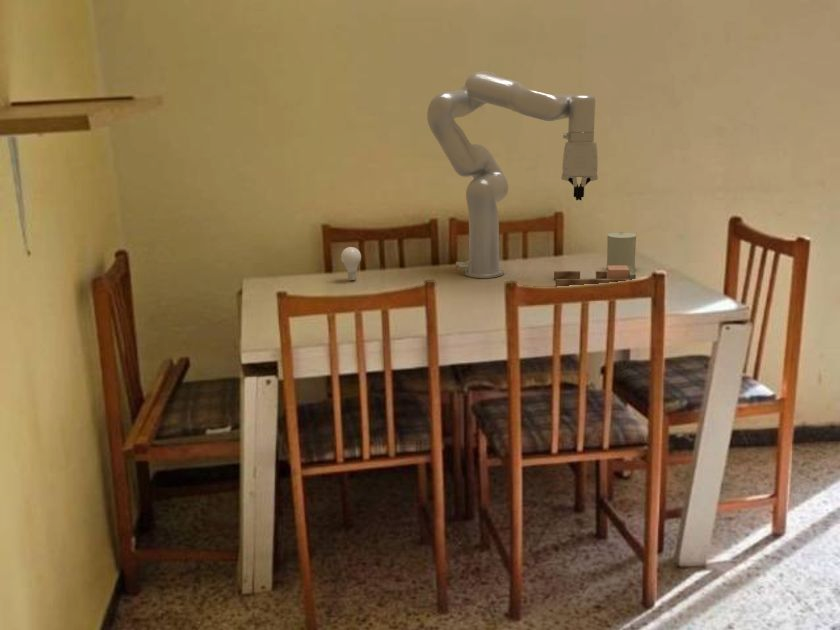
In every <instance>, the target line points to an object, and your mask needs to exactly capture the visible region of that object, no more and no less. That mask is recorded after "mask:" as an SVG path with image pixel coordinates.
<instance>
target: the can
mask: <svg viewBox="0 0 840 630" xmlns="http://www.w3.org/2000/svg"><path fill="white" fill-rule="evenodd" d="M606 239H607V247H606V248H607V251H606V252H607V254H606V255H607V256H606V270H605V271H607V266H618V265H627V266H631V268H632V269H633V271H634V272H636V245H637V244H636V243H637V234H636V233H633V232H626V231H625V232H622V231H621V232H619V231H618V232H617V231H616V232H610V233H608V234H607V238H606Z"/></svg>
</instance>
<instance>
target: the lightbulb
mask: <svg viewBox="0 0 840 630" xmlns="http://www.w3.org/2000/svg"><path fill="white" fill-rule="evenodd" d="M340 259H341V262H342V264H343V265H344V266H345V269H346V271H347V279H348V280H349V281H351V282H354V281H355V280H357V270H358V266H359V264H360V263H361V260H362V254H361V252H360V250H359V249H358V248H357V247H353V246H348V247H346V248H344V249H343V250H342V251H341V255H340Z"/></svg>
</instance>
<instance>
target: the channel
mask: <svg viewBox="0 0 840 630" xmlns="http://www.w3.org/2000/svg"><path fill="white" fill-rule="evenodd" d="M627 267H628V268H629V279H607V270H596V272H595V278H581V271H580V270H554V271H553V280H554V281H555V285H554V286H556V287H557V286H569V285H584V284H599V283H609V282H618V281H626V280H632V279H636V276H637V275H636V273H635V271H633V269H632V268H631V266H627ZM556 287H555V288H556Z"/></svg>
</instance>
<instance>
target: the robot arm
mask: <svg viewBox="0 0 840 630" xmlns="http://www.w3.org/2000/svg"><path fill="white" fill-rule="evenodd" d="M486 104H488V105H489V104H490V105H493V106H497V107H500V108H503V109H508V110H511V111H512V112H515V113H518V114H521V115H523V116H526V117H531V118H534V119H538V120H541V121H547V122H554V121H559V120H564V119H565V120H566V119H568V123H567V124H568V126H567V127H568V128H567V132H566V133H563V136H562V137H563V139H566V140H567V141H566V142H565V143H564V148H563V156H562V167H561V168H562V173H561V177H560V178H561V180H563V181H566V182H569V183H570V184H571V185H572V186H573V198H575V201H582V199H583V198H585V187H586V186H587V184H589V182H593V181H596V180H598V165H599V164H598V162H599V161H598V145H597V142H595V140H594V139H595V115H596V98H595V96H594V95H592V94H569V93H568V94H567V93H553V94H549V93H545V92H540V91H536V90H533V89H530V88H527V87H525V86H523V84H522V83H521V82H520V81H518V80H514V79H509V78H507V77H502V76H499V75H498V74H497V73H495V72H492V71H487V70H485V71H476V72H473V73H471V74H470V75H468V76H467V78H466V80H465V84H464V85H463V86H462V87H461V88H459V89H455V90H445V91H441V92H439V93H437V94H436V95H435V96H434V97H432V99H431V100H430V102H429V105H428V107H427V112H426V113H427V114H426V119H427V123H428V126H429V128H430V131H431V132H432V134H433V136H434V137H435V139H436V141H437V142H438V144H439V146H440V147H441V149H442V151H443V152H444V154H445V156H446V158H447V159H448V162H449V163H450V165H451V166H452V168H453V169H454V171H455V172H456V174H457V175H458V176H461V177H464V178H468V177H472V178H473V179H472V180H471V181H470V182H469V184H468V185H467V187H466V192H465V199H466V205H467V211H468V214H467V215H468V241H469V242H468V244H469V246H468V249H469V252H468V253H469V254H468V255H469V258H468V260H465V261H455V268H456V269H465V270H464V275H466V277H470V278H477V279H490V278H491V279H492V278H498V277H501V276H503V275H504V274H505V271H504V268H502V267H500V224H499V223H500V222H499V221H500V220H499V213H498V212H499V211H498V207H497V203H498V202H500V201H502V200H504V199H505V198H506V196H507V195H508V193H509V183H508V180H507V178H506V175H504V173H503V171H502V170H501V168H500V166H499V164H498V163H497V161H496V159H495V158H494V156H493V154H492V153H491V152H490V150H489V149H488V148H487V147H485V146H484V145H482V144H477V143H476V144H472V142H471V141H470V140H469V139H468V137H467V136H466V133H465V131H464V130H463V129H462V128H461V126H459V125H458V124H457V122H456V120H455V119H457V118H462V117H465V116H468V115H469V114H471V113H473V112H475V111H476V110H477V109H480V108H481V107H482V106H484V105H486ZM577 178H581V180H580V184H578V179H577Z"/></svg>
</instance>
